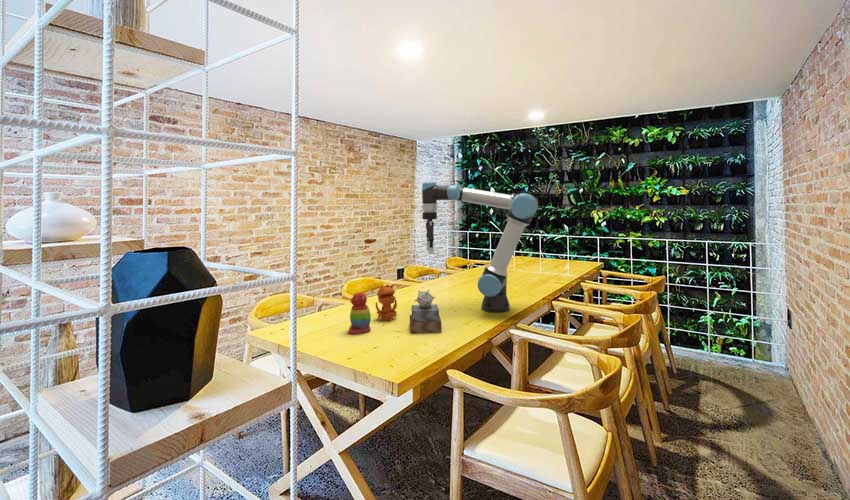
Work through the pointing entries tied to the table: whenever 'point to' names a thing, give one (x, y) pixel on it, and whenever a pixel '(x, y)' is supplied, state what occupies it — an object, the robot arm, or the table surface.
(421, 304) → the grey spiked ball
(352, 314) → the stacking bear
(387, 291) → the brown upright figure
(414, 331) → the dark grey tapered block
